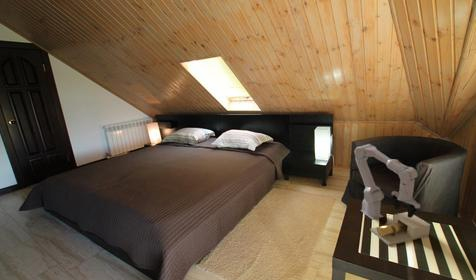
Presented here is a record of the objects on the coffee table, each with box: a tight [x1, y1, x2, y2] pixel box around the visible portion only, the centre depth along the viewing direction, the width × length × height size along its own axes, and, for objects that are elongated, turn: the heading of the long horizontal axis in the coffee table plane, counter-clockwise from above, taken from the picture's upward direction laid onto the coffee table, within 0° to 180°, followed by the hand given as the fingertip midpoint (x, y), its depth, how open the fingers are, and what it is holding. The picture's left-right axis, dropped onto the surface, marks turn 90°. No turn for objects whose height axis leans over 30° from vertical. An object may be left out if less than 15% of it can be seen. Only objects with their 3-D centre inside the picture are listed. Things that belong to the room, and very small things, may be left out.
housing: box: [369, 211, 431, 246], centre depth 115 cm, size 12×24×7 cm, turn 100°
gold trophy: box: [377, 222, 407, 236], centre depth 115 cm, size 6×14×4 cm, turn 100°
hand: (403, 212), depth 116 cm, fingers open, 7 cm apart
